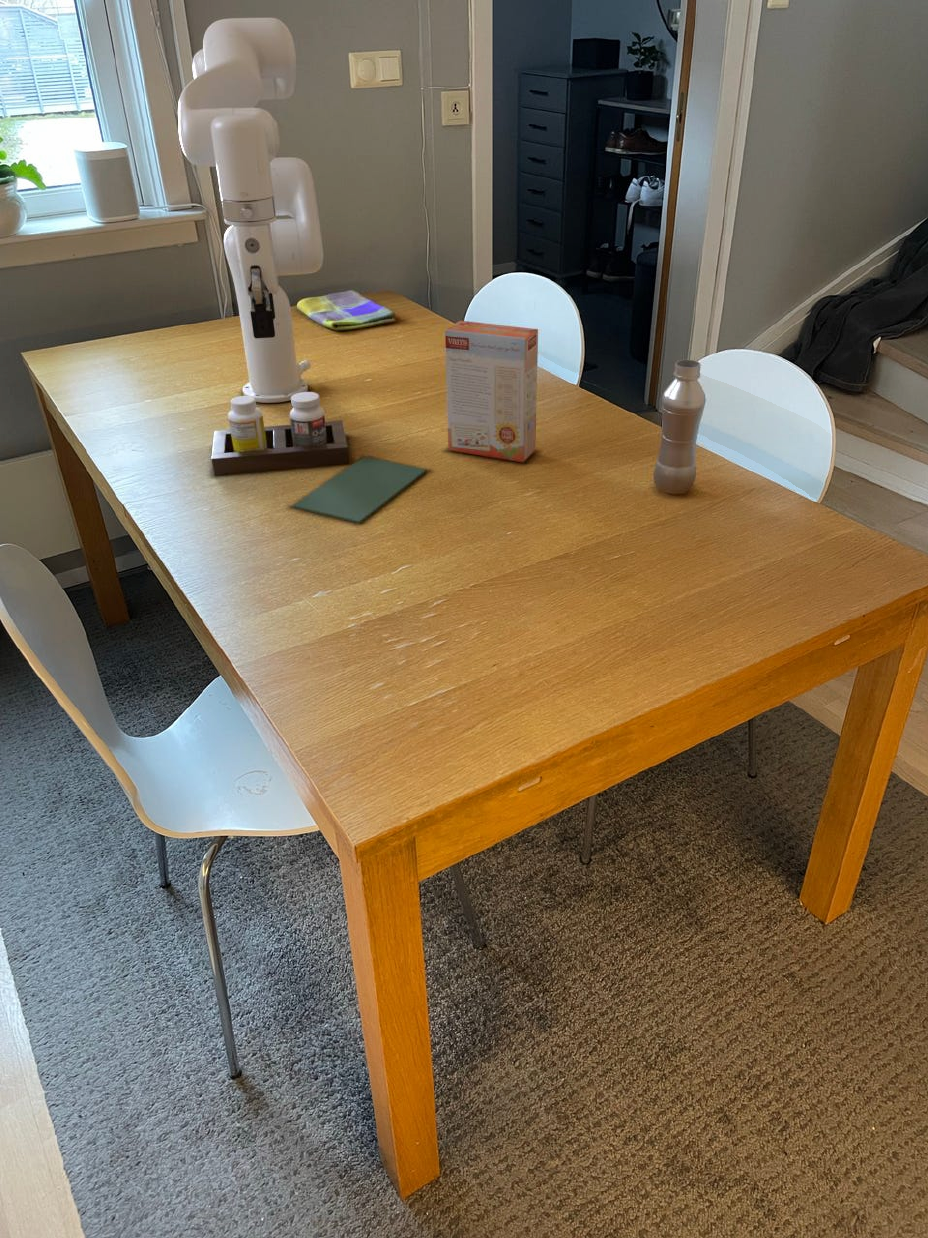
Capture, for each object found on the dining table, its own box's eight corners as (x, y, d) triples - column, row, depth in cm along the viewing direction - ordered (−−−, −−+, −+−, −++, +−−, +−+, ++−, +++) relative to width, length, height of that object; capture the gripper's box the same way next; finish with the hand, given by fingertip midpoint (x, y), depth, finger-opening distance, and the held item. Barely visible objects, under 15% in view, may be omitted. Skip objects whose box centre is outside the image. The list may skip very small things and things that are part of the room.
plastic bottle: (696, 483, 146) (713, 358, 135) (690, 501, 141) (708, 373, 130) (655, 477, 148) (669, 354, 137) (648, 496, 143) (661, 369, 132)
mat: (364, 458, 156) (364, 456, 156) (426, 471, 151) (426, 469, 151) (293, 507, 142) (293, 505, 141) (359, 523, 137) (359, 521, 137)
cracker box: (536, 450, 158) (540, 327, 146) (523, 464, 153) (526, 338, 141) (461, 438, 163) (459, 317, 151) (447, 451, 158) (443, 327, 146)
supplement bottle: (254, 448, 160) (245, 391, 155) (275, 456, 157) (267, 398, 152) (228, 458, 157) (218, 400, 151) (249, 467, 154) (240, 408, 148)
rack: (217, 446, 161) (214, 430, 160) (343, 435, 164) (342, 419, 163) (214, 475, 151) (211, 458, 150) (349, 463, 154) (347, 447, 153)
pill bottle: (321, 460, 156) (315, 403, 150) (289, 458, 157) (282, 401, 151) (332, 446, 160) (326, 391, 155) (301, 444, 161) (294, 389, 156)
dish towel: (329, 334, 214) (327, 322, 212) (294, 308, 232) (293, 297, 230) (398, 322, 220) (397, 311, 219) (359, 299, 238) (358, 287, 237)
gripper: (275, 220, 129) (289, 343, 138) (275, 198, 143) (288, 311, 153) (220, 223, 128) (238, 346, 137) (225, 201, 142) (242, 314, 152)
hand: (265, 327), depth 145 cm, fingers open, 9 cm apart
